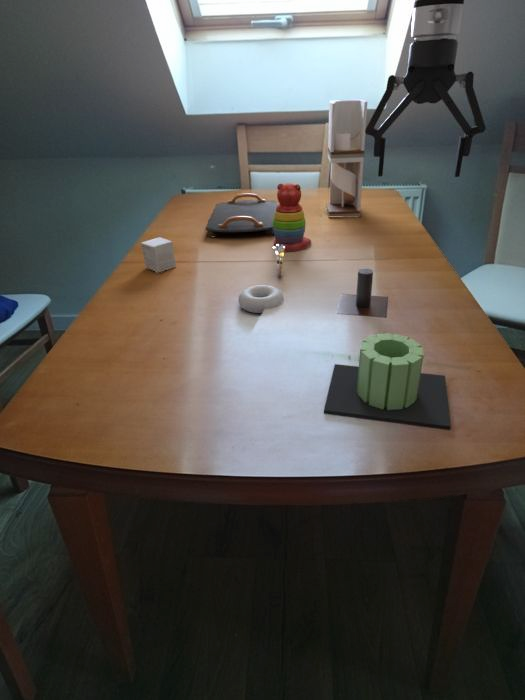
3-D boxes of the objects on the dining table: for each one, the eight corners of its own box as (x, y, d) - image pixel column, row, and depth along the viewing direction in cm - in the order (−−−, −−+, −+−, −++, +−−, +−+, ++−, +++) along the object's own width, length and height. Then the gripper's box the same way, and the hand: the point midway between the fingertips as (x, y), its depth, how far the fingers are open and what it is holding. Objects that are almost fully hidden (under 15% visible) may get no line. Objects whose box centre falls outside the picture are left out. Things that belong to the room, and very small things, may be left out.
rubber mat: (444, 378, 77) (445, 375, 76) (450, 429, 66) (451, 426, 66) (334, 366, 81) (334, 364, 81) (323, 413, 70) (323, 410, 70)
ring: (285, 280, 115) (284, 249, 111) (272, 280, 115) (271, 249, 111) (286, 269, 121) (285, 239, 117) (274, 270, 121) (273, 240, 117)
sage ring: (415, 378, 76) (422, 335, 72) (416, 413, 68) (424, 368, 64) (359, 372, 78) (363, 330, 74) (354, 406, 70) (358, 361, 66)
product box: (145, 268, 126) (140, 242, 122) (163, 262, 130) (159, 236, 126) (157, 274, 122) (153, 247, 118) (176, 267, 126) (172, 240, 122)
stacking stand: (387, 302, 102) (391, 263, 97) (385, 324, 93) (390, 282, 89) (341, 299, 104) (343, 261, 99) (335, 320, 96) (337, 279, 91)
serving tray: (278, 238, 143) (277, 218, 140) (203, 240, 144) (201, 221, 141) (278, 206, 176) (277, 189, 173) (217, 208, 178) (215, 192, 174)
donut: (270, 293, 109) (231, 302, 105) (270, 279, 107) (230, 288, 103) (292, 309, 101) (250, 319, 97) (292, 294, 99) (250, 304, 96)
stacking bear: (313, 242, 138) (313, 180, 129) (301, 254, 131) (301, 188, 121) (279, 239, 142) (278, 178, 133) (266, 250, 135) (263, 186, 125)
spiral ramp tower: (326, 209, 170) (329, 101, 152) (355, 208, 170) (362, 99, 152) (328, 217, 161) (332, 103, 142) (359, 216, 160) (367, 101, 142)
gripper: (354, 43, 76) (348, 178, 87) (522, 32, 70) (493, 179, 81) (358, 44, 82) (352, 171, 93) (513, 35, 76) (486, 171, 87)
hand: (417, 175), depth 87 cm, fingers open, 13 cm apart
